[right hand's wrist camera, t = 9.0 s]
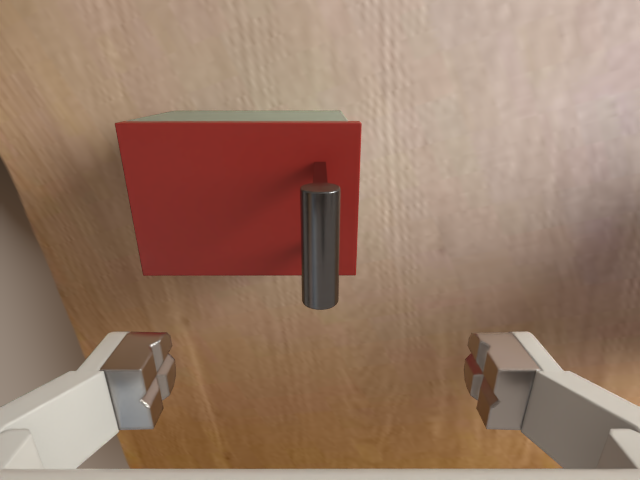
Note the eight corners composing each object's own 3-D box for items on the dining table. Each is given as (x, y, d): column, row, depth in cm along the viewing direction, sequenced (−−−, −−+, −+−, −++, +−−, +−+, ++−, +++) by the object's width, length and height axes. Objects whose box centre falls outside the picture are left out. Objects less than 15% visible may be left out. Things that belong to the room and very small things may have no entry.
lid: (359, 120, 23) (381, 141, 15) (354, 267, 27) (369, 346, 19) (123, 121, 23) (21, 141, 15) (150, 268, 26) (78, 347, 19)
